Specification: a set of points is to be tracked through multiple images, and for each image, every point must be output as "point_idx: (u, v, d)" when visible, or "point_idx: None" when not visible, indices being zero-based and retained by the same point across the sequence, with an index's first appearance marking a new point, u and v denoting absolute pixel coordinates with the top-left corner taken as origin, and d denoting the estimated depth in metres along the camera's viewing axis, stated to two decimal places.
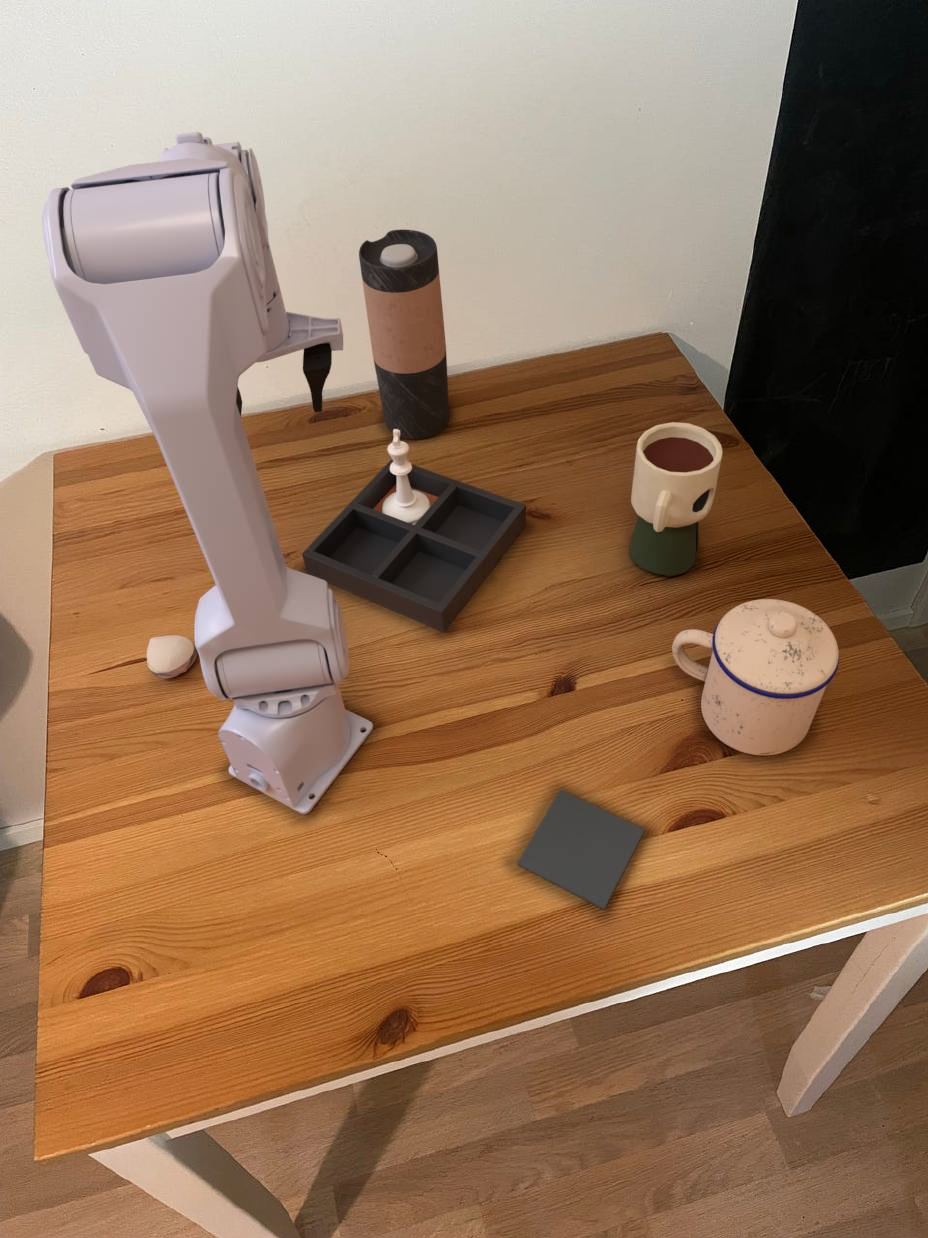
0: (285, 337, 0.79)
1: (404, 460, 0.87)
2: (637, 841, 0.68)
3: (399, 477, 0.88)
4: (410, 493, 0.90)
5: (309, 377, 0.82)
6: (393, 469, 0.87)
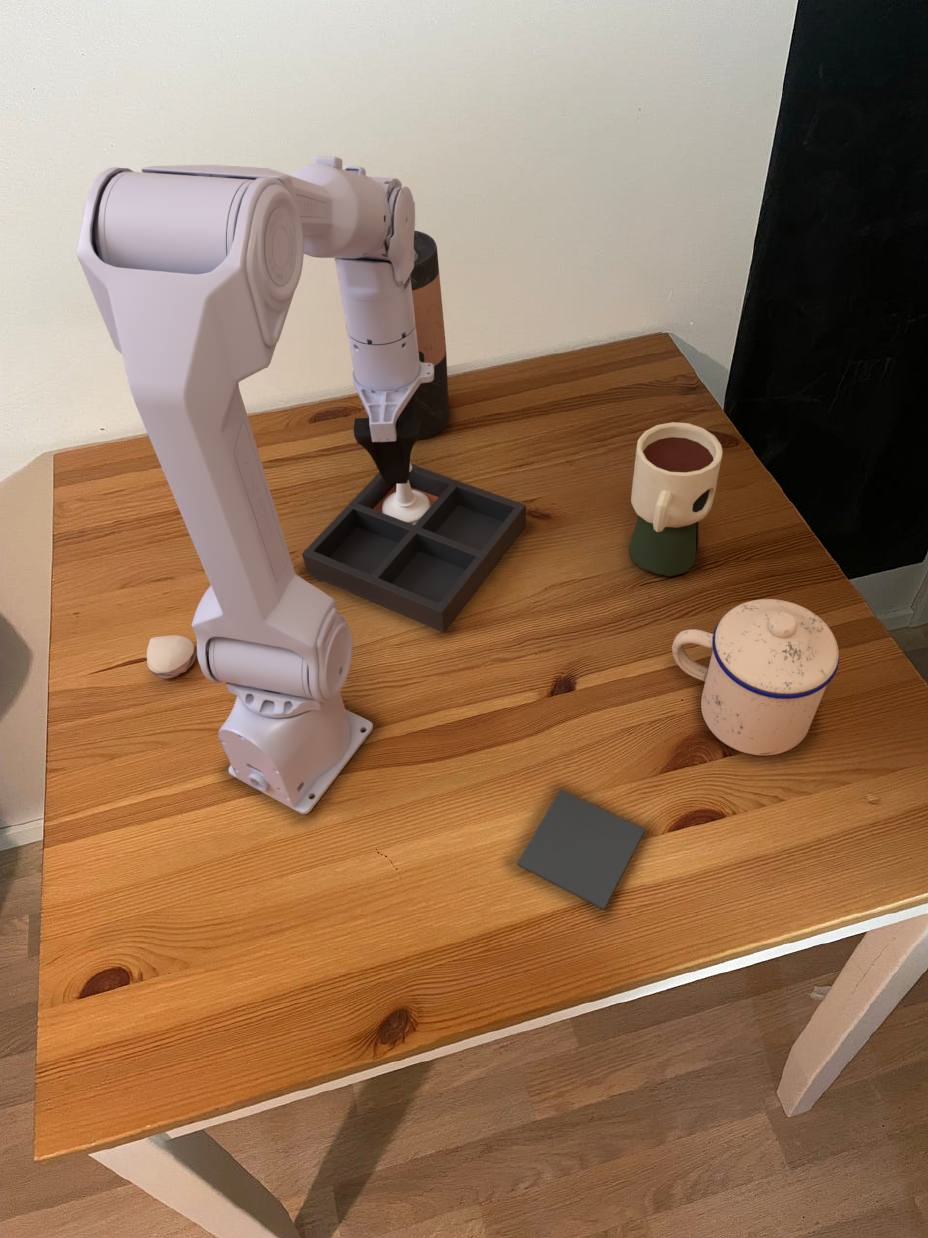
0: (370, 387, 0.78)
1: None
2: (637, 841, 0.68)
3: None
4: (410, 493, 0.90)
5: None
6: None
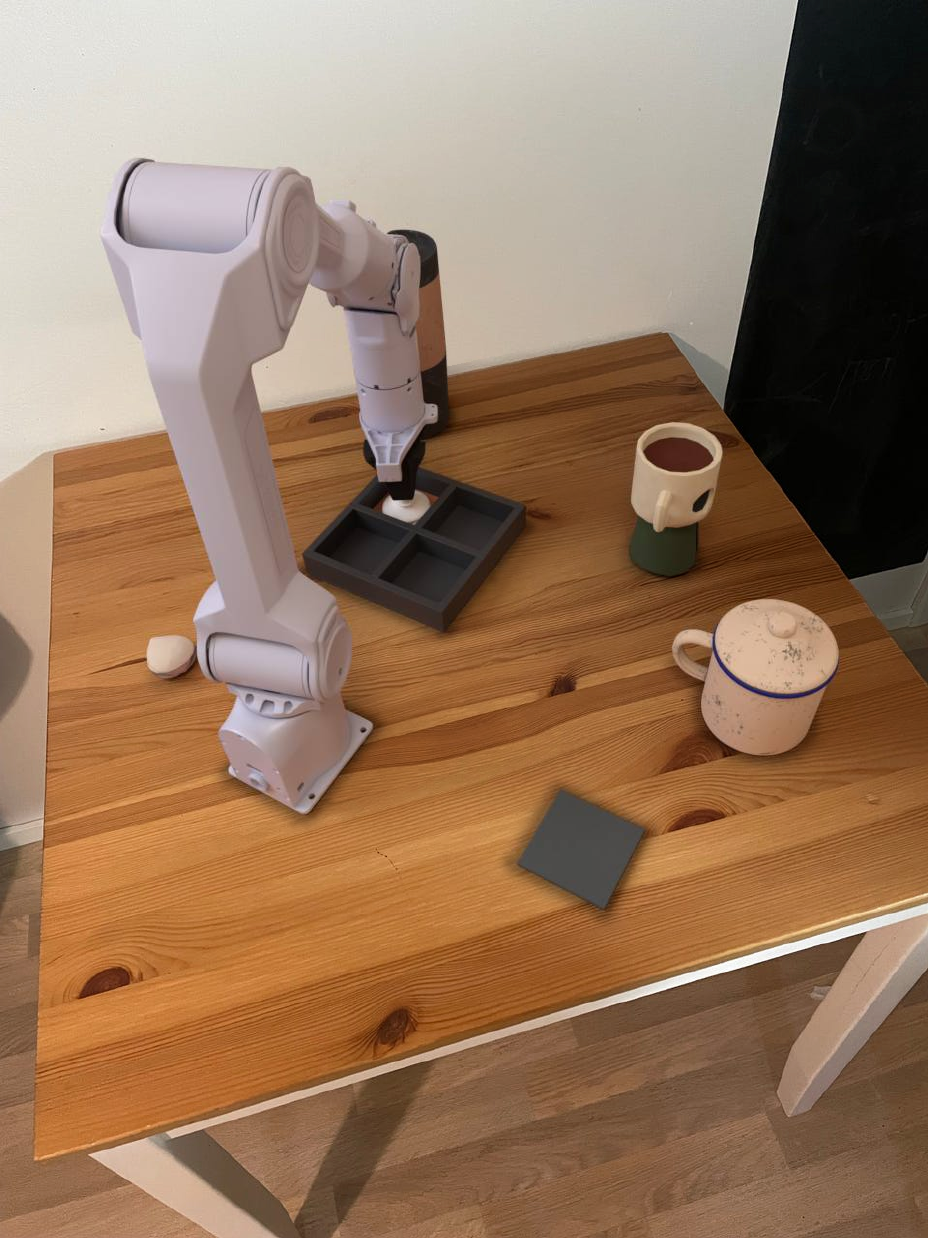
0: (377, 429, 0.81)
1: None
2: (637, 841, 0.68)
3: None
4: None
5: None
6: None
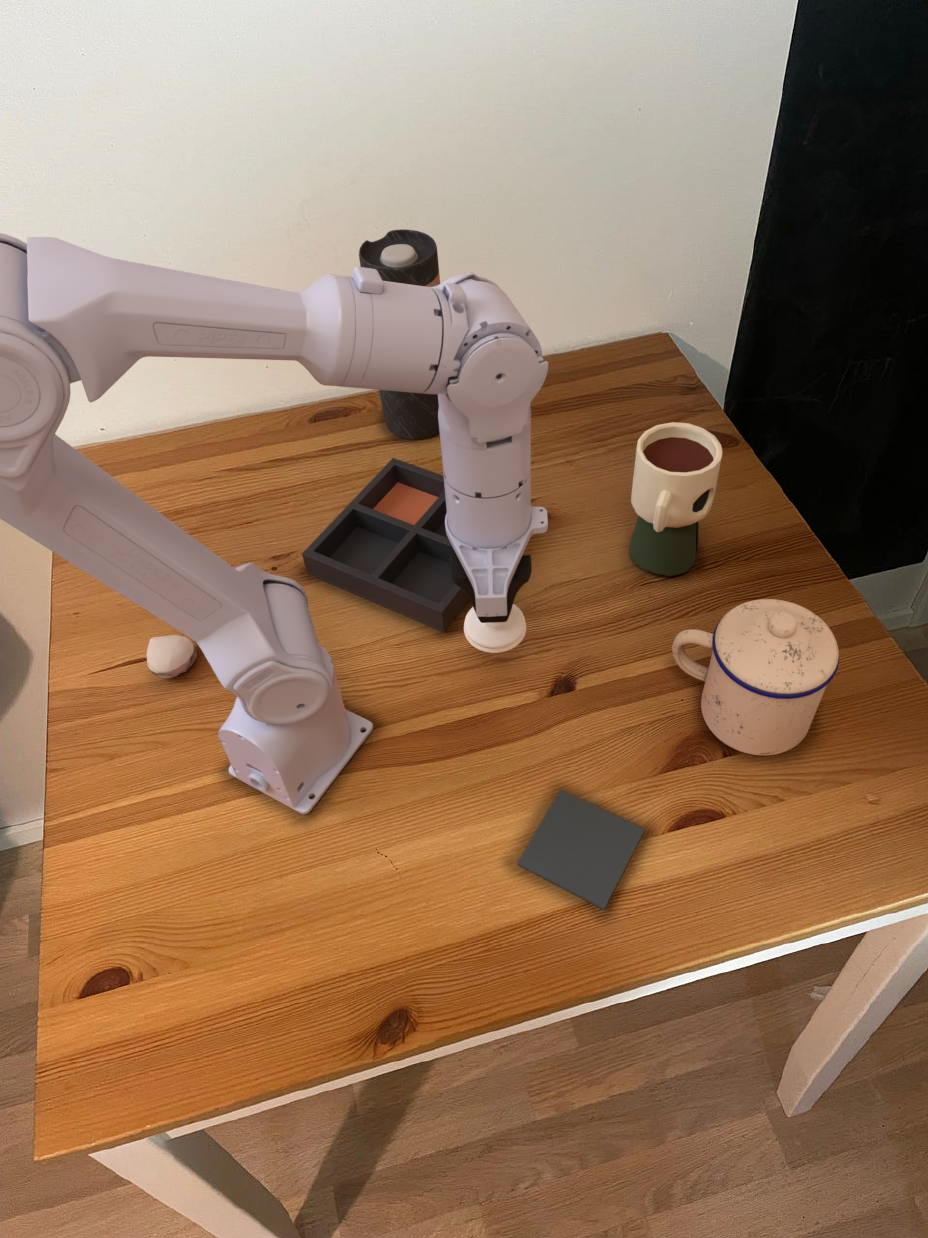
0: (471, 544, 0.62)
1: None
2: (637, 841, 0.68)
3: None
4: None
5: None
6: None
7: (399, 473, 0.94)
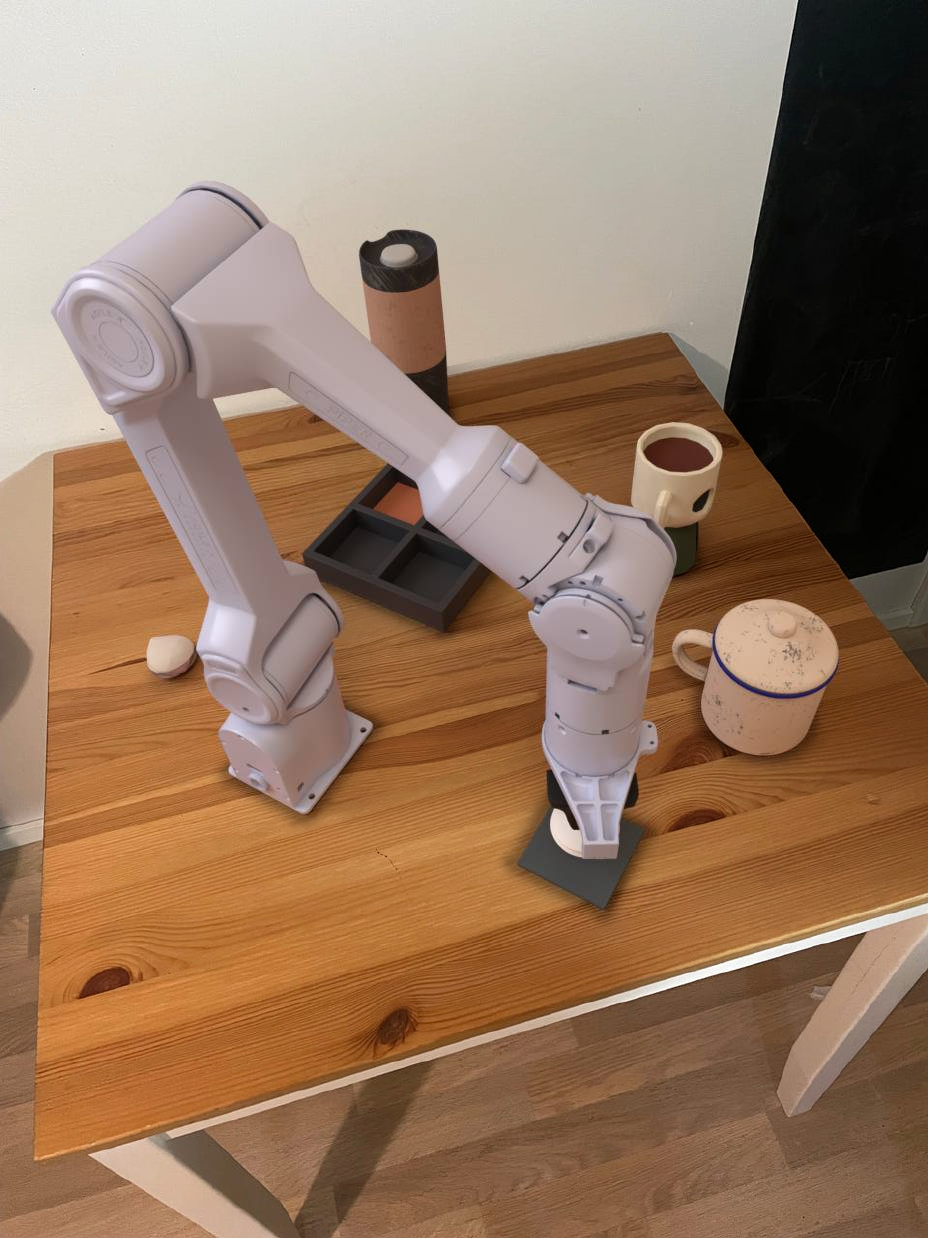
0: (574, 771, 0.55)
1: None
2: (637, 841, 0.68)
3: None
4: None
5: None
6: None
7: (399, 473, 0.94)
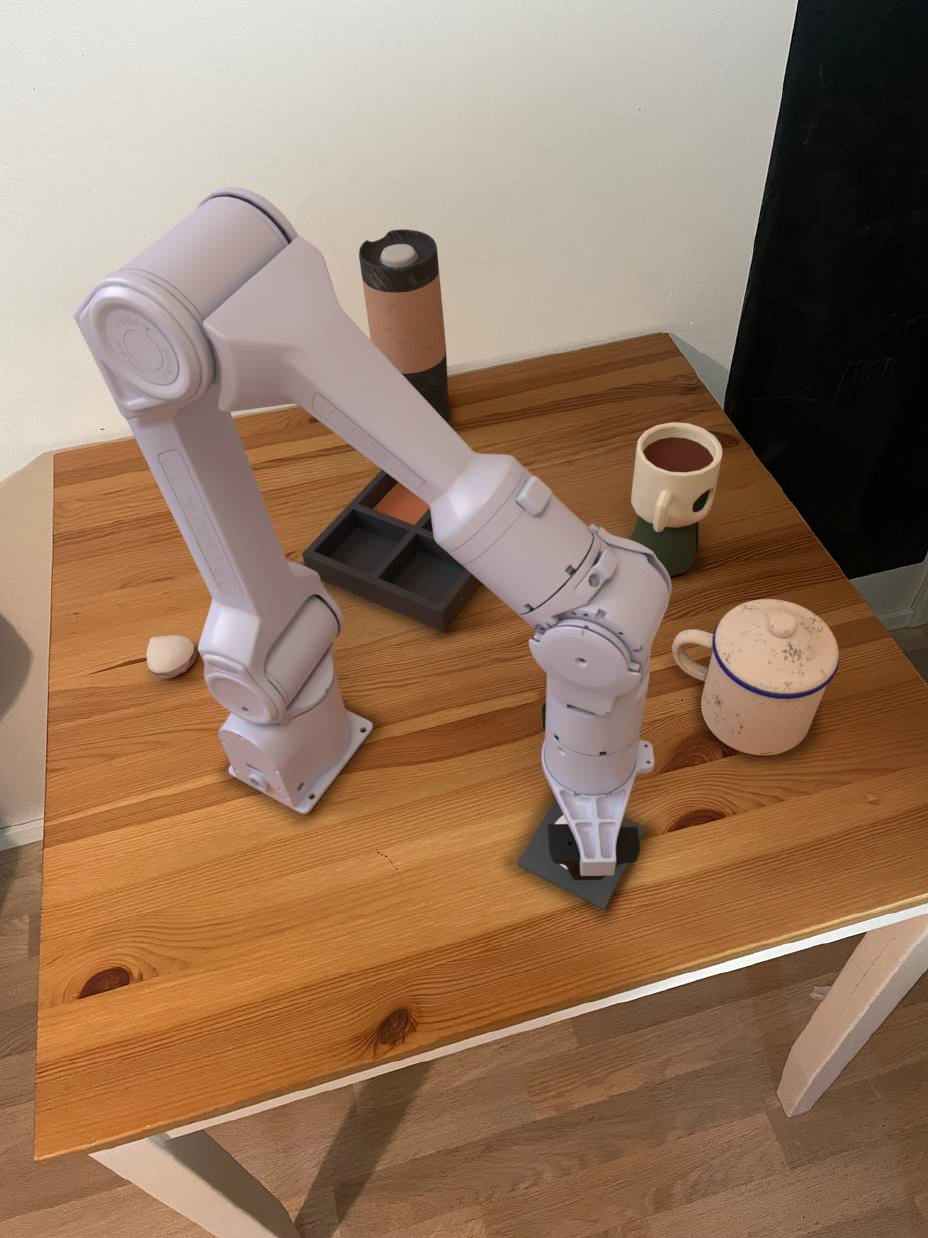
0: (573, 790, 0.57)
1: None
2: None
3: None
4: None
5: None
6: None
7: None
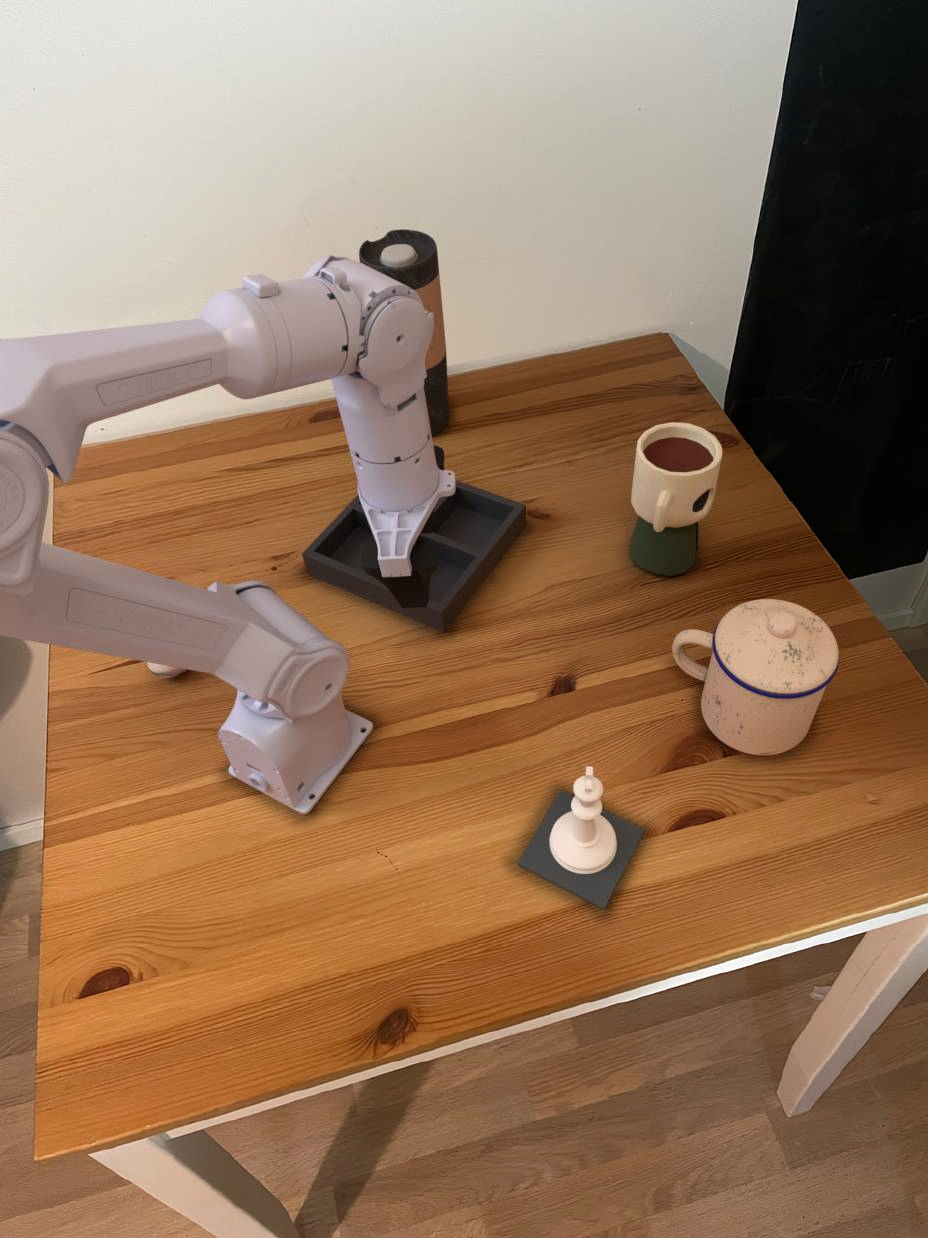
0: (379, 507, 0.65)
1: (595, 802, 0.63)
2: (637, 841, 0.68)
3: None
4: (593, 830, 0.66)
5: None
6: (577, 810, 0.63)
7: None
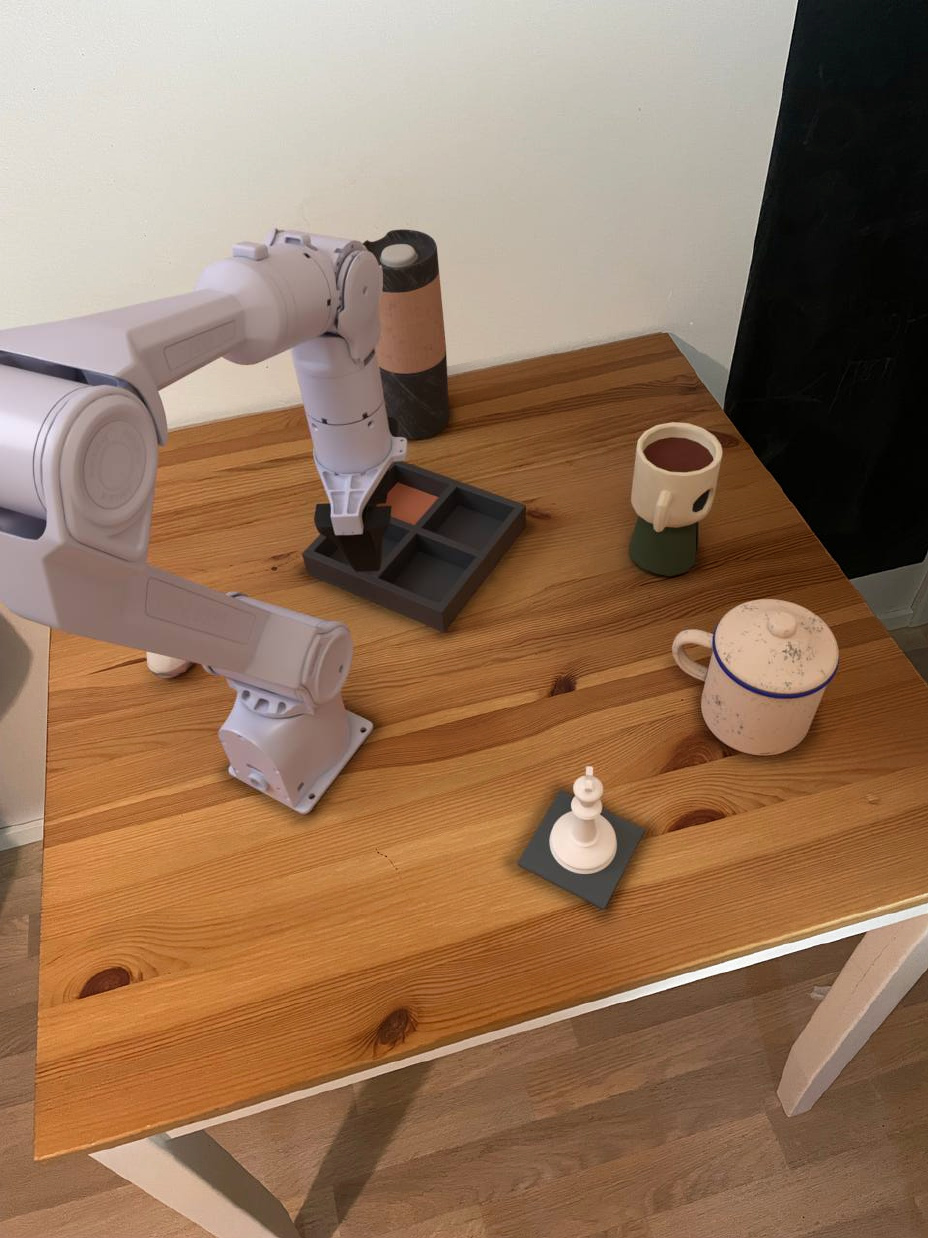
0: (333, 470, 0.67)
1: (595, 802, 0.63)
2: (637, 841, 0.68)
3: None
4: (593, 830, 0.66)
5: None
6: (577, 810, 0.63)
7: (399, 473, 0.94)
